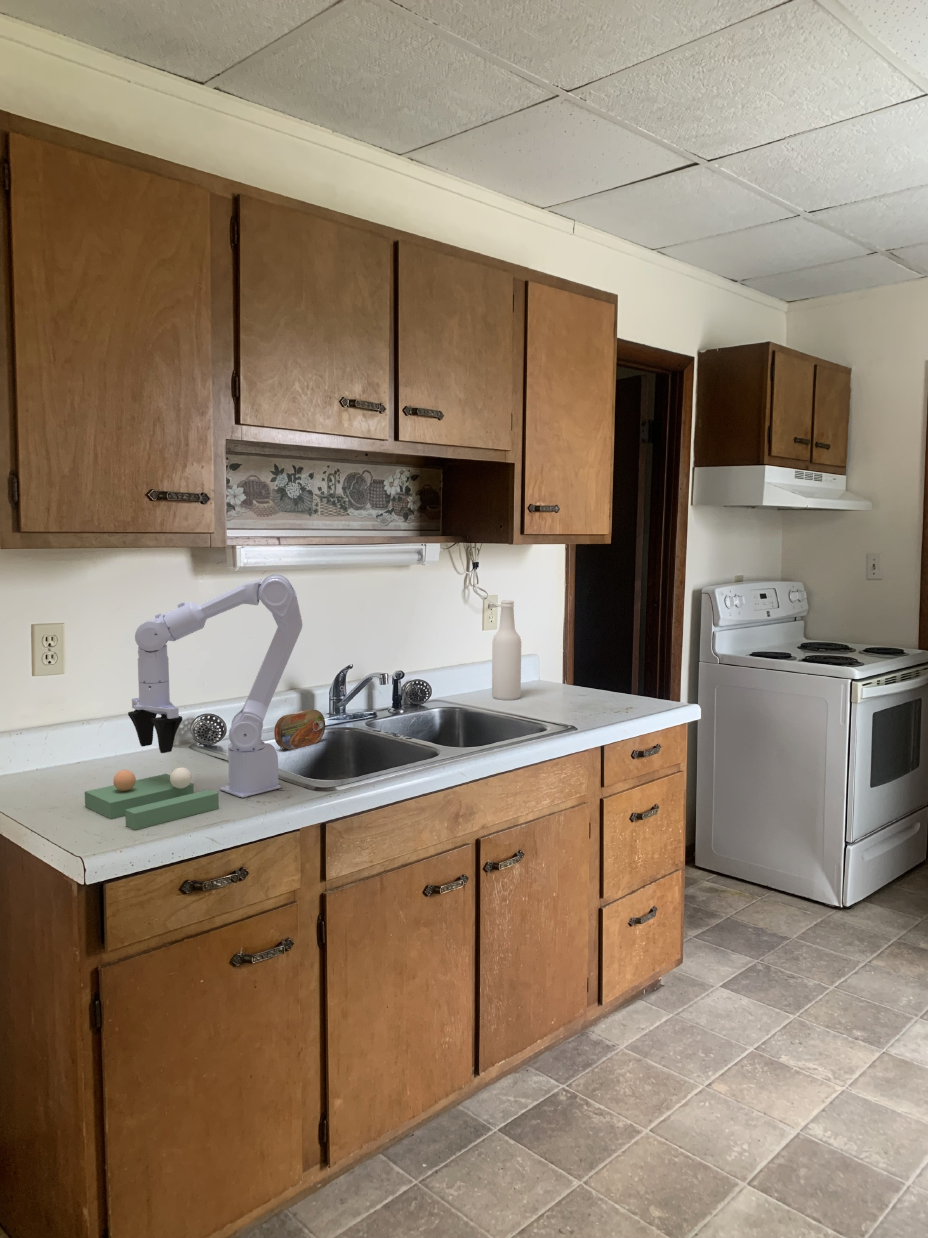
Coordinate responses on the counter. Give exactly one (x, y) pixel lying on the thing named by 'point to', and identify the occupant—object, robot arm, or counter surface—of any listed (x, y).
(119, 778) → the terracotta ball
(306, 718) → the tin
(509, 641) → the alcohol
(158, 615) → the robot arm
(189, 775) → the ivory ball
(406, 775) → the counter surface
